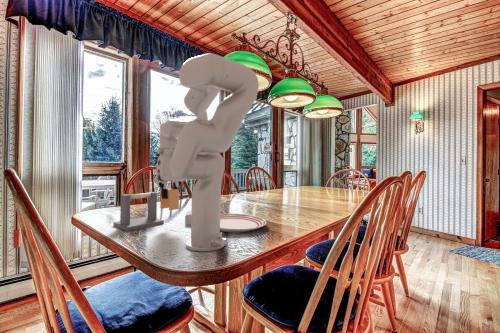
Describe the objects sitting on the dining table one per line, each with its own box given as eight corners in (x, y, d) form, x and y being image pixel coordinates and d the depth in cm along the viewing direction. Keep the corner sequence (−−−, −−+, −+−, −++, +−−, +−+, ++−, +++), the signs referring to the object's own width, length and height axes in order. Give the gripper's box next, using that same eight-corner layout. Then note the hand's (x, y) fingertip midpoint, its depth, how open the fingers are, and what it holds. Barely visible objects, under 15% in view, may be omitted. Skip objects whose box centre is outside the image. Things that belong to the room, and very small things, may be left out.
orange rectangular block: (178, 208, 102) (178, 189, 102) (170, 210, 99) (170, 190, 99) (168, 207, 106) (168, 188, 106) (160, 208, 103) (160, 189, 103)
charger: (206, 217, 126) (206, 225, 111) (187, 217, 124) (184, 225, 110) (206, 208, 126) (206, 214, 111) (187, 208, 124) (185, 214, 109)
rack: (163, 223, 111) (164, 193, 110) (127, 231, 98) (127, 196, 98) (148, 219, 118) (149, 190, 118) (113, 225, 105) (113, 193, 105)
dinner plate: (267, 221, 121) (267, 214, 121) (265, 238, 94) (265, 229, 94) (211, 218, 124) (211, 211, 124) (193, 234, 97) (194, 225, 97)
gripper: (156, 152, 94) (156, 201, 94) (191, 153, 107) (191, 196, 107) (145, 152, 98) (145, 199, 98) (180, 154, 112) (180, 195, 112)
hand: (169, 197), depth 103 cm, fingers closed on orange rectangular block, 4 cm apart
